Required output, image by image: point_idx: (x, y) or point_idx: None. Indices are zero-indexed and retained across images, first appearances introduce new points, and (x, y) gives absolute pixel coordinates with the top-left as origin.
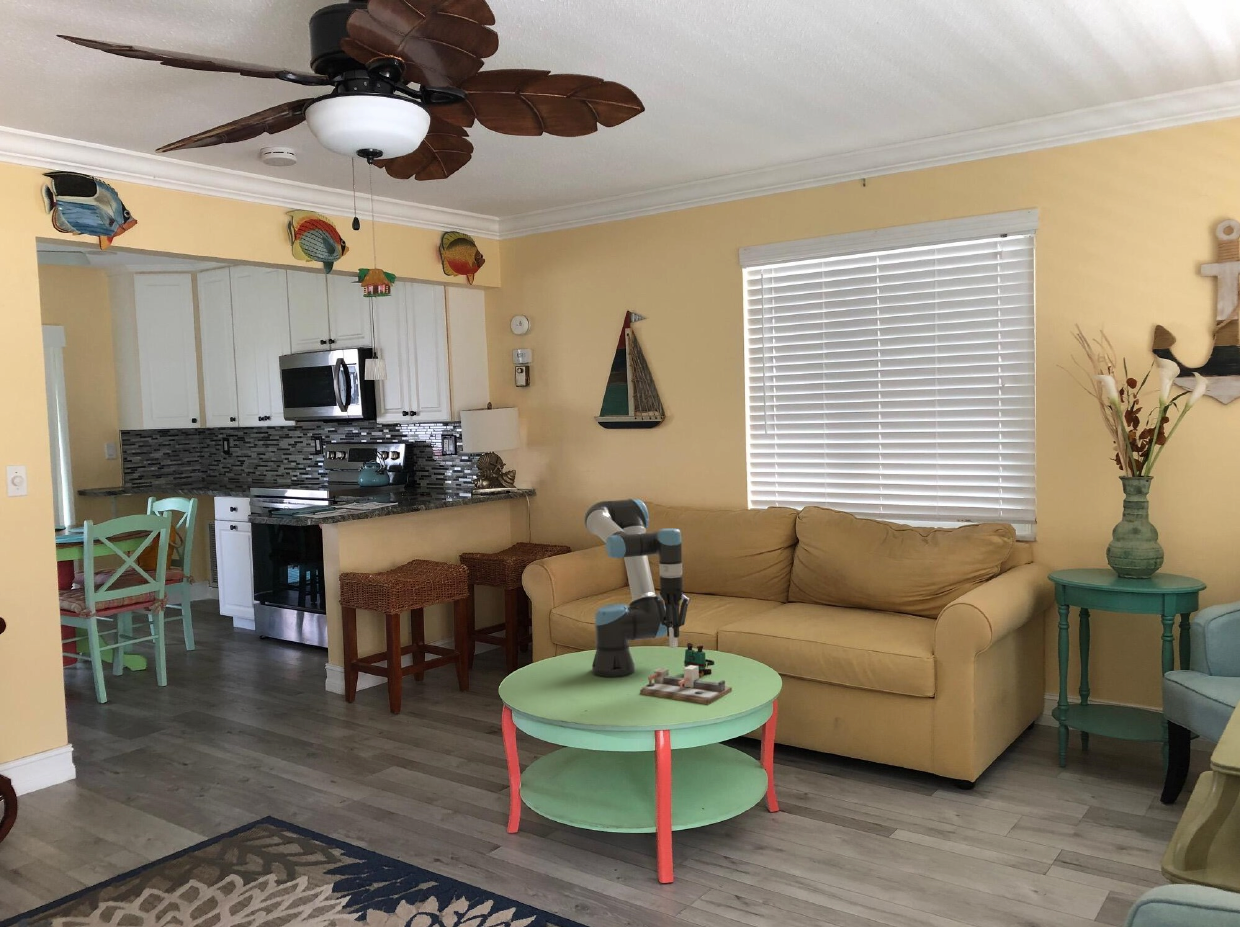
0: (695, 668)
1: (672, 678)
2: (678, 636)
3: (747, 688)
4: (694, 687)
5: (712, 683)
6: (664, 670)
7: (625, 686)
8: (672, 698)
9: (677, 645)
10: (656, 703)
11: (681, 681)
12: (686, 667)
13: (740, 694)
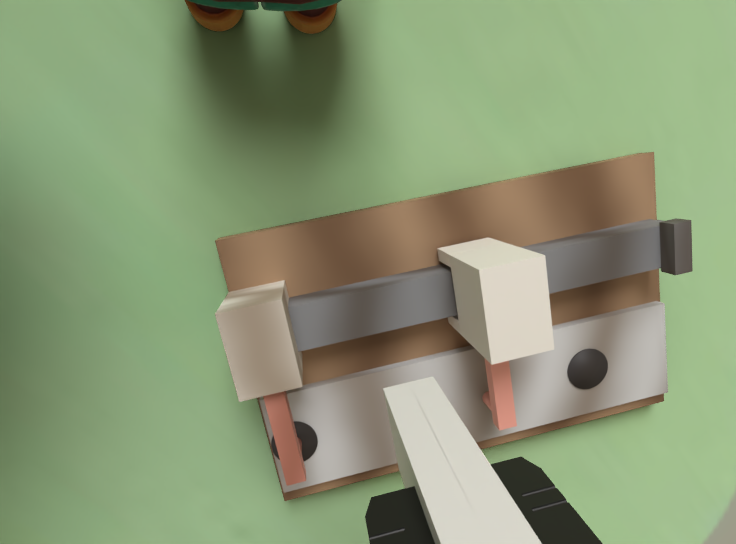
0: (546, 299)
1: (360, 332)
2: (529, 475)
3: (687, 63)
4: None
5: (614, 260)
6: (288, 345)
7: (118, 459)
8: None
9: (435, 382)
10: None
11: (508, 414)
12: (492, 335)
13: (702, 179)
